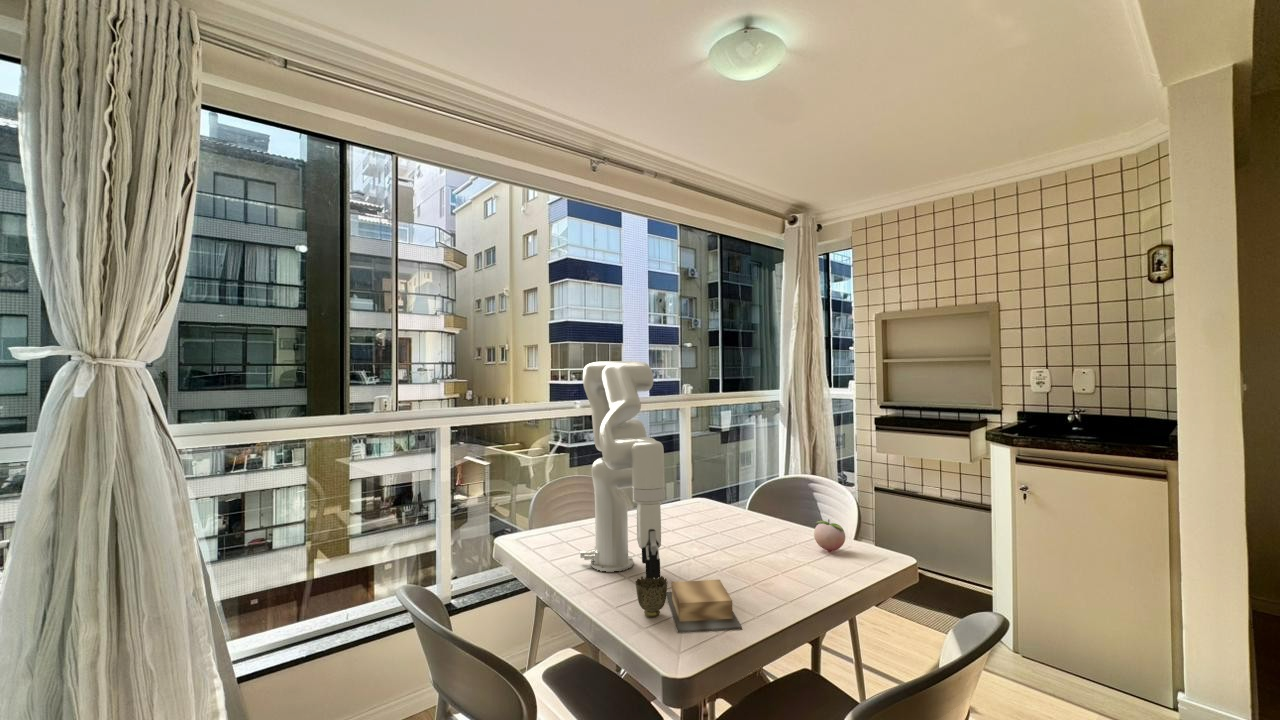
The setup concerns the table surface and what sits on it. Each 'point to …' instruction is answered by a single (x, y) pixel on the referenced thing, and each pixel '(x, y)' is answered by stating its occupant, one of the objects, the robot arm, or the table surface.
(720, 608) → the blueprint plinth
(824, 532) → the decorative fruit
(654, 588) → the cup
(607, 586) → the table surface
